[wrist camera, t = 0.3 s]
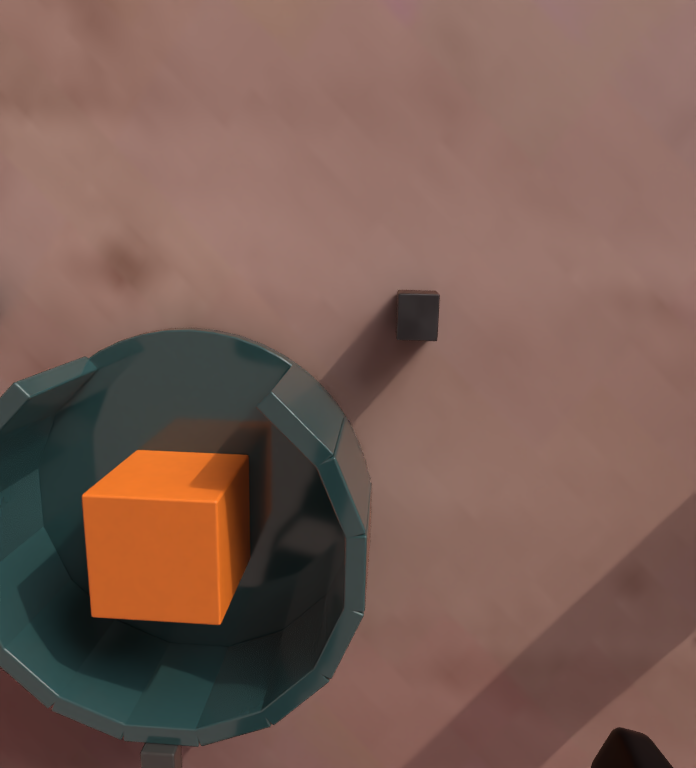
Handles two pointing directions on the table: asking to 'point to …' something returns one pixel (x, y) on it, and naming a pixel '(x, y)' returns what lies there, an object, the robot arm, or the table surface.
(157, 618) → the cube
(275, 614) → the saucepan
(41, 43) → the table surface
